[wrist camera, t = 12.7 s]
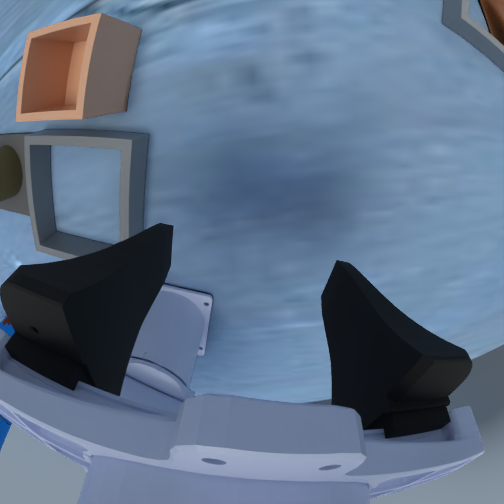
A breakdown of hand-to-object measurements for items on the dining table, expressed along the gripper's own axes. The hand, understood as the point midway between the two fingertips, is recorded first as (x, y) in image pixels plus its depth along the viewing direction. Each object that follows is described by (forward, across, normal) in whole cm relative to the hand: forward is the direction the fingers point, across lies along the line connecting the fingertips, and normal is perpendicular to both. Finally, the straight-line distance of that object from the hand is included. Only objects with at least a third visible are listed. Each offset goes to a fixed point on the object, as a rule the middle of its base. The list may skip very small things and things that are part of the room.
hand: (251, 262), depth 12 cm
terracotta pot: (+10, +15, -8) cm, 20 cm away
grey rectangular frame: (+10, +15, +3) cm, 18 cm away
